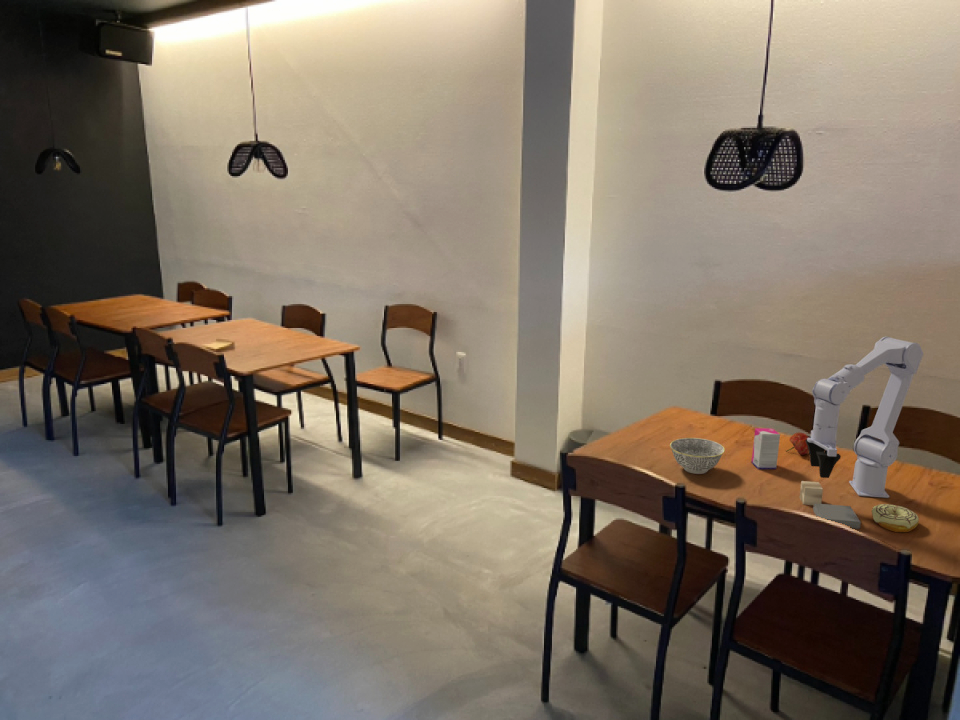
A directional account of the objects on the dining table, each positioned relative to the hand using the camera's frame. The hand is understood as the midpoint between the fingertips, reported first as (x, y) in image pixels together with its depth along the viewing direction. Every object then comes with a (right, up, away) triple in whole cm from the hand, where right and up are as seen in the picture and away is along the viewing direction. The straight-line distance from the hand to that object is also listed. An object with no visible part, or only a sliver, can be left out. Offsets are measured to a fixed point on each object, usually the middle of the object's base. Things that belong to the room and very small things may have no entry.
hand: (819, 471), depth 192 cm
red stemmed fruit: (+11, 0, +38) cm, 40 cm away
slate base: (+1, -11, -6) cm, 13 cm away
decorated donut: (+15, -12, -9) cm, 21 cm away
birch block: (-1, -9, +4) cm, 10 cm away
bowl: (-26, -4, +26) cm, 37 cm away
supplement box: (-4, -3, +28) cm, 29 cm away
